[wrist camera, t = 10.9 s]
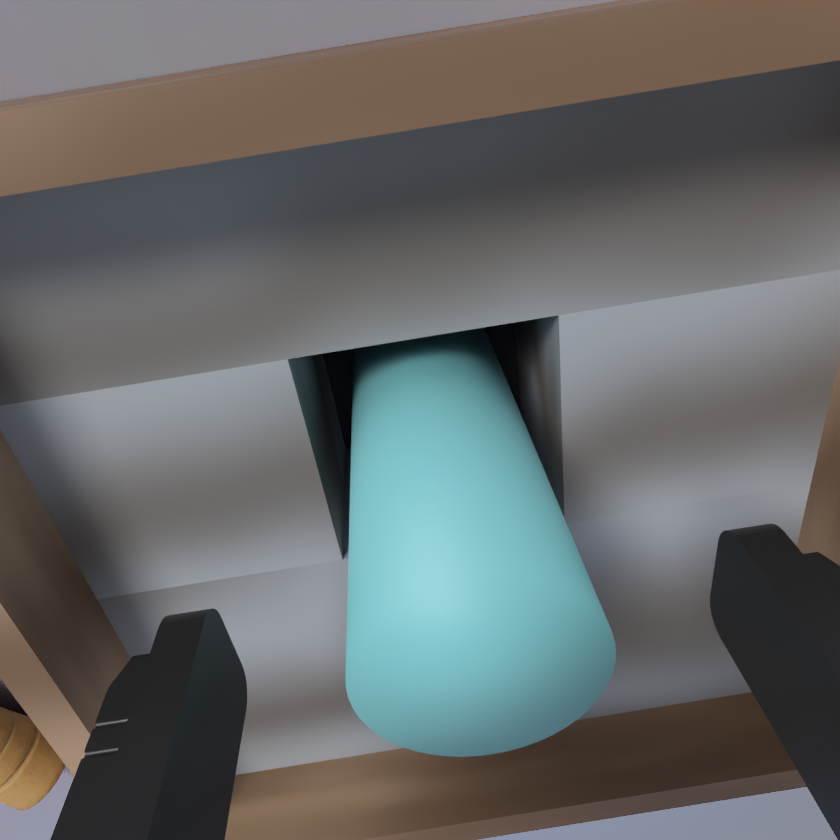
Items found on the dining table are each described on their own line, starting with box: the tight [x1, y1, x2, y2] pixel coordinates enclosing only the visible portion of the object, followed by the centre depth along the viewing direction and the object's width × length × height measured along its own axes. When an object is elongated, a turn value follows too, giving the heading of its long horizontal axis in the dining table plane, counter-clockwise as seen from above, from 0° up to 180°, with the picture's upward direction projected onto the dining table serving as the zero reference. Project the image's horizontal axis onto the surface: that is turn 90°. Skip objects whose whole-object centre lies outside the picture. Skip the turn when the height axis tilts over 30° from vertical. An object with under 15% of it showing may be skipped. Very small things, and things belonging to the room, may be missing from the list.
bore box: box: [0, 0, 840, 840], centre depth 17 cm, size 20×20×8 cm
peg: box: [346, 328, 616, 757], centre depth 14 cm, size 4×4×11 cm
